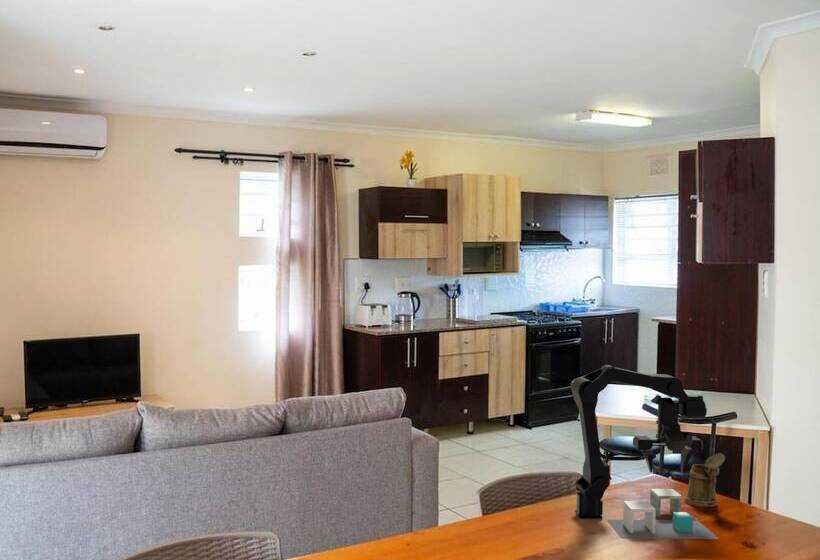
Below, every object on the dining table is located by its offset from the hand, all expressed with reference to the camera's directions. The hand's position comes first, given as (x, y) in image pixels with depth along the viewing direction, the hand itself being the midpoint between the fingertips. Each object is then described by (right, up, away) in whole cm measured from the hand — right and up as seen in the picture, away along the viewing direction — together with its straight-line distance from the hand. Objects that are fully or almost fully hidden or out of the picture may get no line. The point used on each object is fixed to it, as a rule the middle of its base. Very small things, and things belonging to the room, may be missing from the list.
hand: (666, 472), depth 220 cm
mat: (-6, -13, -13) cm, 19 cm away
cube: (0, -12, -13) cm, 18 cm away
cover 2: (0, -12, 0) cm, 12 cm away
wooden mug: (+14, -13, +9) cm, 21 cm away
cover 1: (-12, -12, -13) cm, 21 cm away
